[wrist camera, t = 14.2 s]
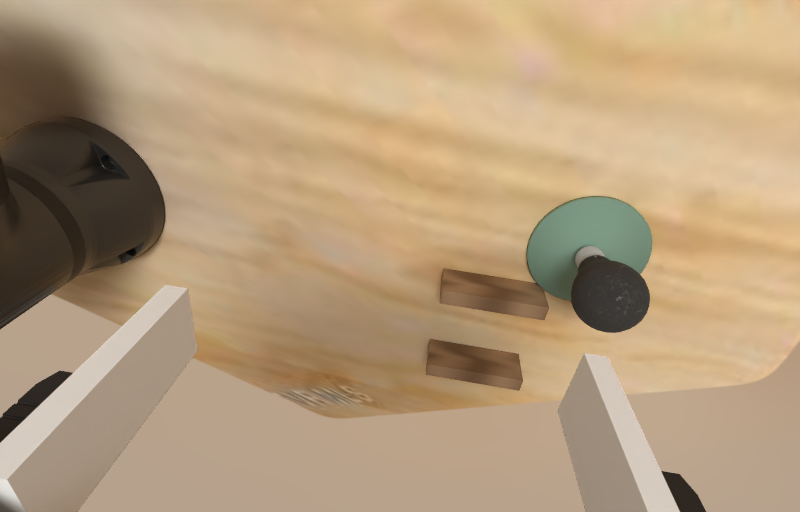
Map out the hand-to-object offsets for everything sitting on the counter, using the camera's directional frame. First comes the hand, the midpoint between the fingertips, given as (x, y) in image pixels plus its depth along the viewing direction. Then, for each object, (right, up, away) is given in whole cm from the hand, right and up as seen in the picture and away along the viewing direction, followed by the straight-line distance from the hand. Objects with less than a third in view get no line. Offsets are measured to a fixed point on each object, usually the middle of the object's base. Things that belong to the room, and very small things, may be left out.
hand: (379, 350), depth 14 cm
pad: (+18, +4, +26) cm, 32 cm away
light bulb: (+18, +4, +26) cm, 32 cm away
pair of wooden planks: (+9, -4, +32) cm, 33 cm away
